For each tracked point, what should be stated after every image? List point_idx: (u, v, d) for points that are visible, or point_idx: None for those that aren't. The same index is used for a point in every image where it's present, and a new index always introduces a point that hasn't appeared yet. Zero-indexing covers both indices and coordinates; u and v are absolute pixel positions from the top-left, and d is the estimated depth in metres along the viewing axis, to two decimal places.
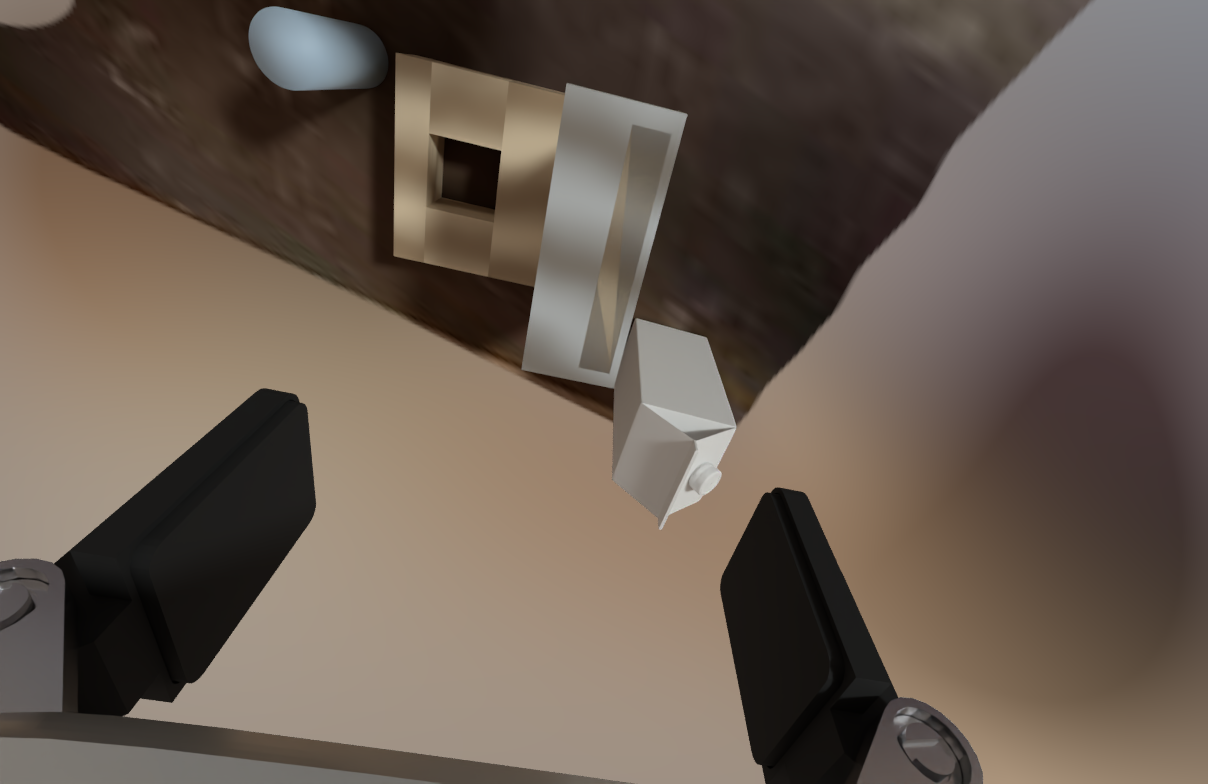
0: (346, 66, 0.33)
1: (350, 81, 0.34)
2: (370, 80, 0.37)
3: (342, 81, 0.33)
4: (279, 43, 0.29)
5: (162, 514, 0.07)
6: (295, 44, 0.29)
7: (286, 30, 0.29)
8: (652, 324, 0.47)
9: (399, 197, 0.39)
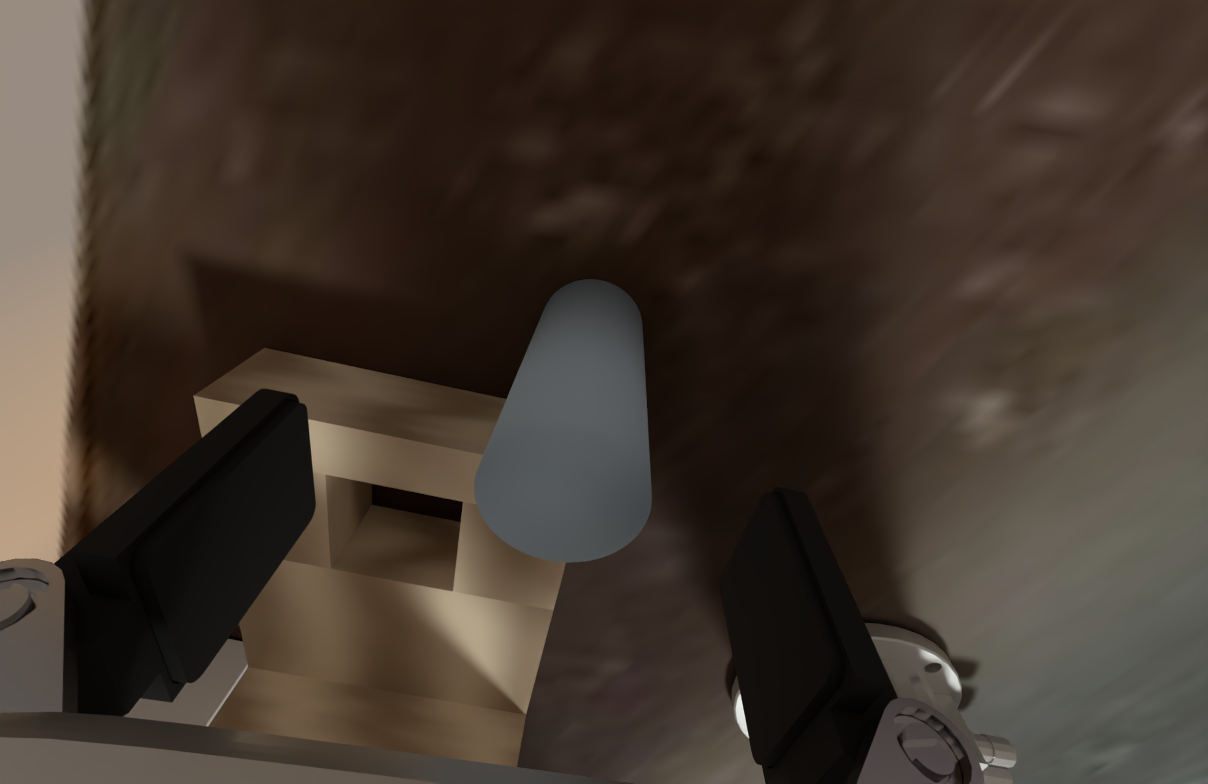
0: None
1: None
2: None
3: None
4: (575, 491, 0.12)
5: (162, 514, 0.07)
6: (575, 521, 0.12)
7: (604, 512, 0.12)
8: None
9: (330, 432, 0.18)
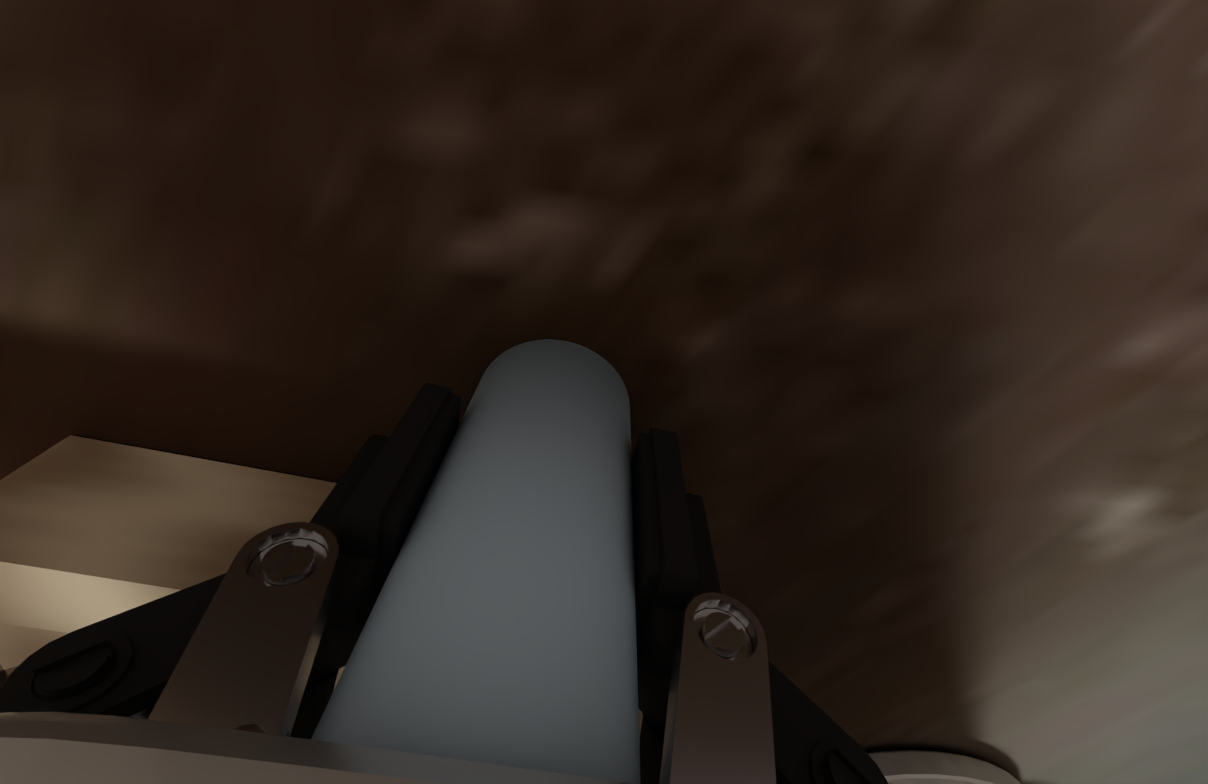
0: None
1: None
2: None
3: None
4: None
5: (394, 487, 0.08)
6: None
7: None
8: None
9: (135, 593, 0.12)
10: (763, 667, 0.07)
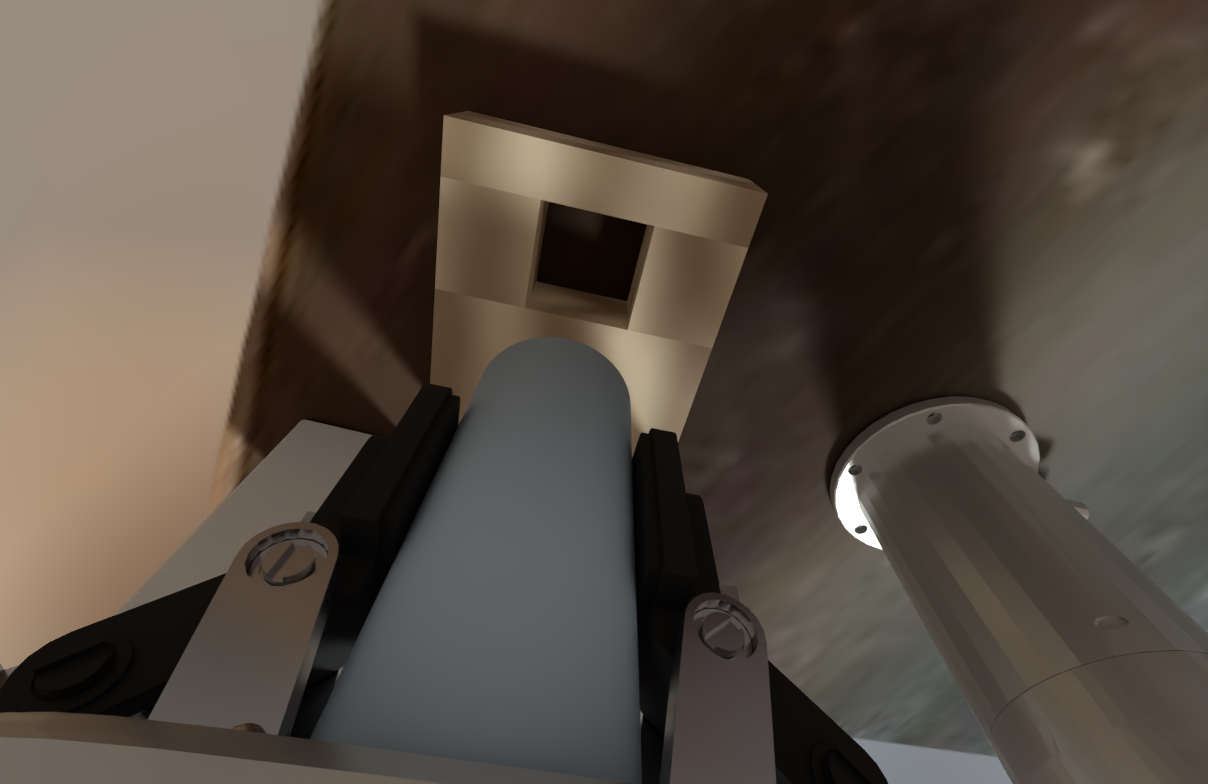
0: None
1: None
2: None
3: None
4: None
5: (394, 487, 0.08)
6: None
7: None
8: None
9: (554, 152, 0.22)
10: (763, 667, 0.07)
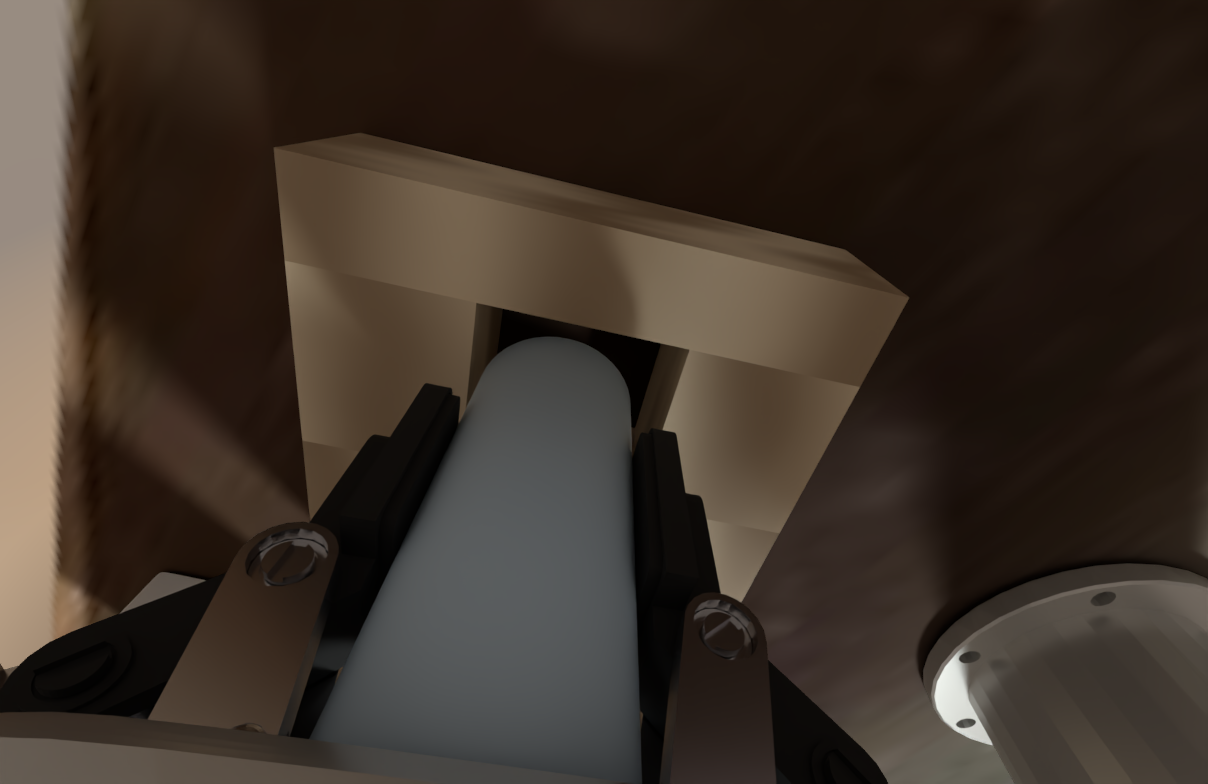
0: None
1: None
2: None
3: None
4: None
5: (394, 487, 0.08)
6: None
7: None
8: None
9: (497, 219, 0.11)
10: (763, 667, 0.07)
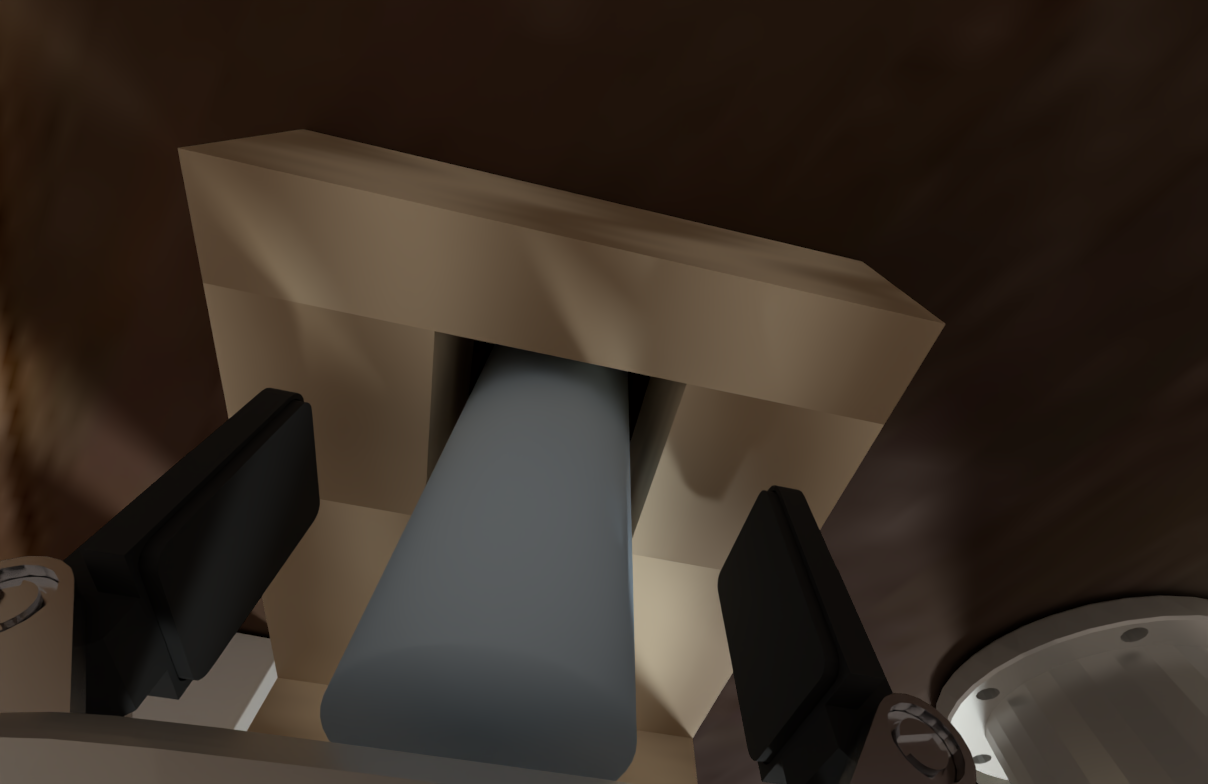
0: None
1: None
2: None
3: None
4: (501, 731, 0.06)
5: (170, 512, 0.07)
6: (506, 765, 0.07)
7: (554, 756, 0.07)
8: None
9: (455, 234, 0.09)
10: None
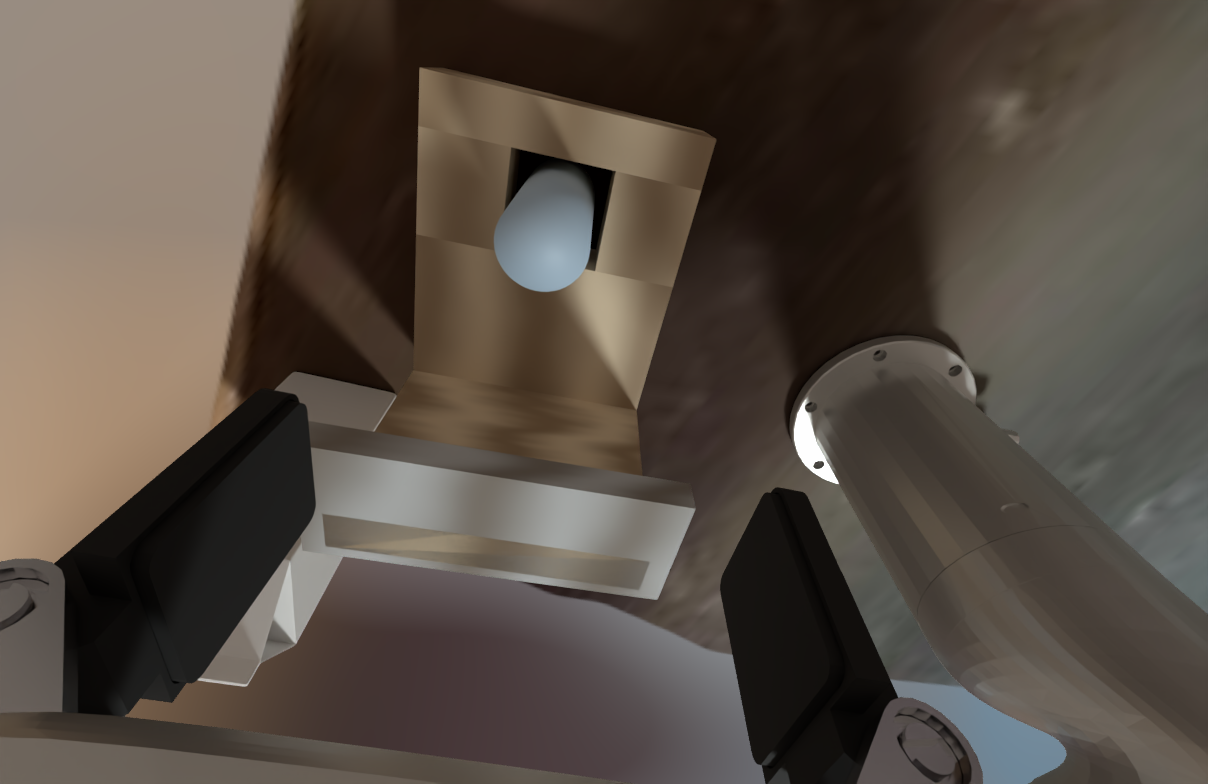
0: None
1: None
2: None
3: None
4: (548, 240, 0.21)
5: (162, 514, 0.07)
6: (550, 261, 0.22)
7: (565, 254, 0.22)
8: None
9: (521, 102, 0.24)
10: None
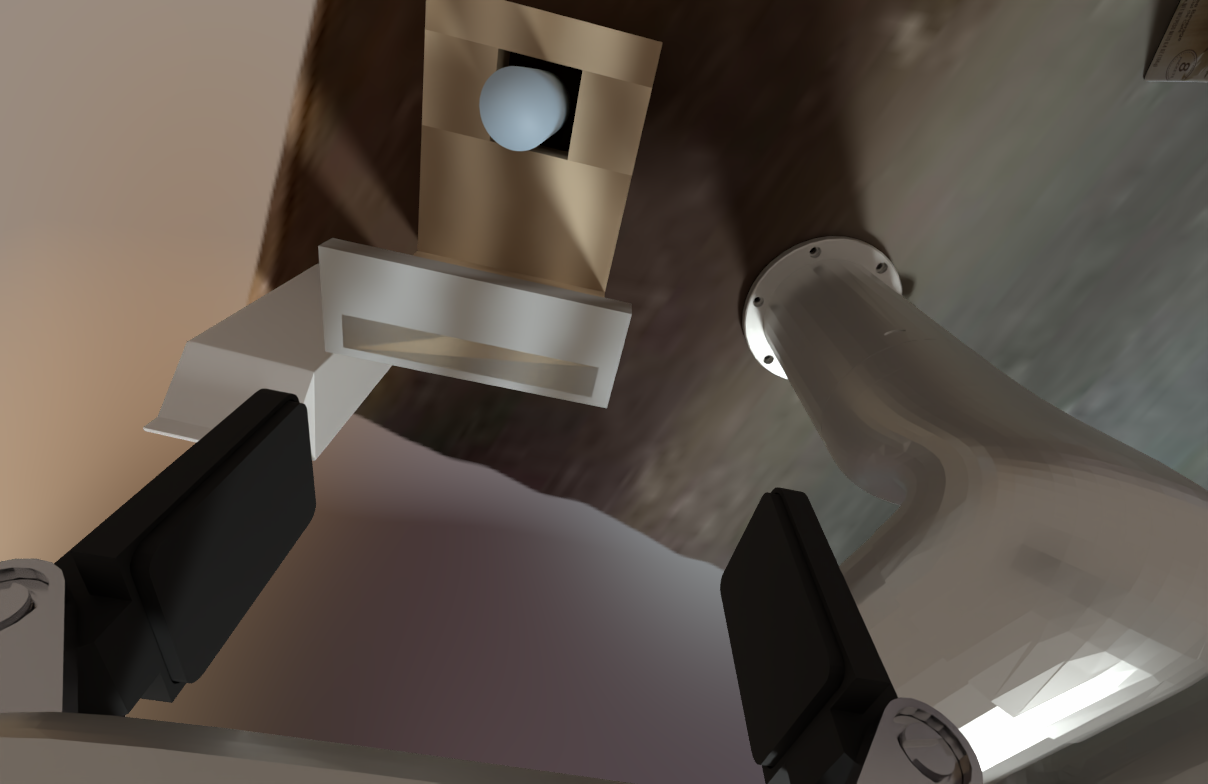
0: None
1: None
2: None
3: None
4: (521, 105, 0.28)
5: (162, 514, 0.07)
6: (522, 123, 0.28)
7: (534, 117, 0.28)
8: None
9: (506, 9, 0.30)
10: None
